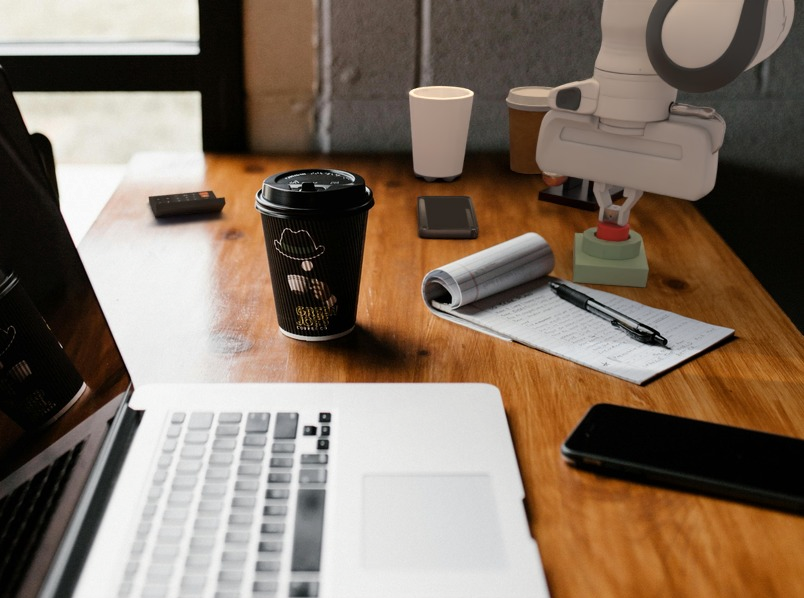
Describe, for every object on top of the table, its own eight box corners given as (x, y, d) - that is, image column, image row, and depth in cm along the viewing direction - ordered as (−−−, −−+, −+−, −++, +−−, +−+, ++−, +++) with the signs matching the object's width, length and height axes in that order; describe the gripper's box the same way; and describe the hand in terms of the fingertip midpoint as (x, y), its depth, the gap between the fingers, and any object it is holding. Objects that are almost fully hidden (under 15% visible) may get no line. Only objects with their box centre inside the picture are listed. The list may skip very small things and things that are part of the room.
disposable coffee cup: (547, 180, 134) (556, 99, 128) (490, 172, 139) (496, 93, 132) (568, 166, 141) (577, 89, 135) (514, 158, 146) (520, 83, 139)
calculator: (212, 196, 129) (210, 176, 127) (227, 219, 119) (225, 198, 117) (149, 202, 126) (146, 181, 125) (158, 226, 117) (155, 204, 115)
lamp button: (628, 244, 99) (631, 229, 98) (596, 242, 99) (598, 227, 99) (626, 234, 102) (629, 220, 101) (595, 232, 102) (597, 218, 102)
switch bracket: (593, 211, 121) (606, 117, 114) (537, 199, 126) (547, 108, 119) (629, 193, 128) (643, 103, 121) (574, 183, 133) (585, 96, 126)
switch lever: (562, 194, 118) (558, 174, 115) (539, 189, 120) (535, 169, 117) (611, 124, 122) (609, 103, 119) (588, 121, 124) (585, 100, 121)
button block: (645, 287, 97) (651, 253, 95) (573, 282, 99) (577, 249, 97) (639, 254, 106) (644, 222, 104) (572, 249, 108) (576, 218, 106)
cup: (444, 165, 142) (448, 83, 136) (481, 179, 135) (487, 93, 129) (394, 173, 138) (396, 90, 131) (430, 188, 131) (433, 101, 124)
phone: (418, 229, 111) (417, 195, 124) (418, 238, 112) (416, 202, 124) (480, 230, 111) (472, 195, 123) (479, 238, 111) (471, 203, 124)
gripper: (741, 105, 89) (712, 235, 96) (563, 82, 100) (550, 199, 107) (717, 115, 84) (689, 250, 92) (535, 89, 96) (523, 211, 103)
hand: (612, 222), depth 100 cm, fingers closed
